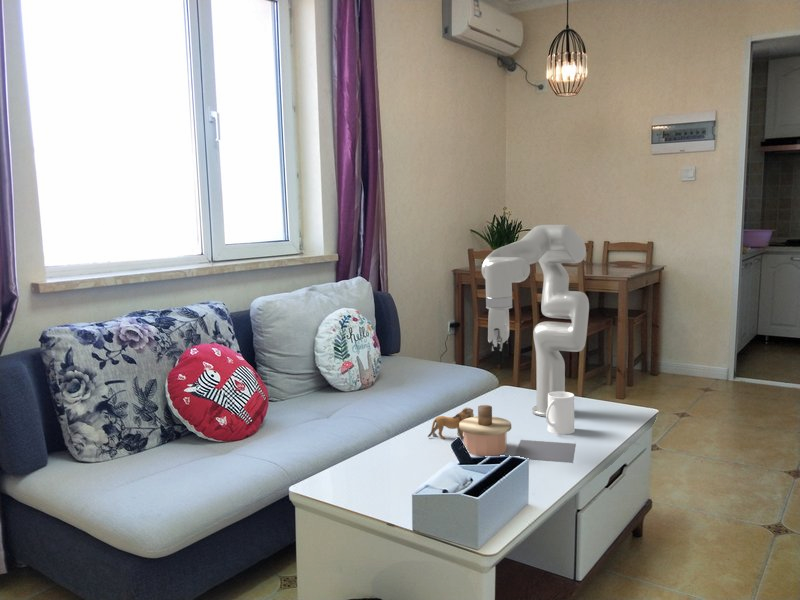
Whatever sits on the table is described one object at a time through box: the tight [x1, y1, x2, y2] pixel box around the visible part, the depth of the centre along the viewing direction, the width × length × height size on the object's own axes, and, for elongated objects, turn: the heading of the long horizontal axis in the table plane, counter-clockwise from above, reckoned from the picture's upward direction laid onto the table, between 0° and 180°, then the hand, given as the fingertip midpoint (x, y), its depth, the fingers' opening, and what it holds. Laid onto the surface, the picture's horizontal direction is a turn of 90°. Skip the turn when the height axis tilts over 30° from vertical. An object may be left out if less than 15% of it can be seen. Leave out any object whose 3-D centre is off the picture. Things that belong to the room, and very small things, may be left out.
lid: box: [459, 404, 512, 435], centre depth 195 cm, size 15×15×6 cm
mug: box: [545, 391, 576, 435], centre depth 210 cm, size 12×8×12 cm
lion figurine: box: [427, 407, 475, 440], centre depth 209 cm, size 15×5×9 cm, turn 97°
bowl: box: [463, 431, 508, 457], centre depth 196 cm, size 12×12×7 cm
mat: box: [513, 439, 576, 464], centre depth 193 cm, size 16×16×1 cm
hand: (500, 360), depth 198 cm, fingers open, 9 cm apart
